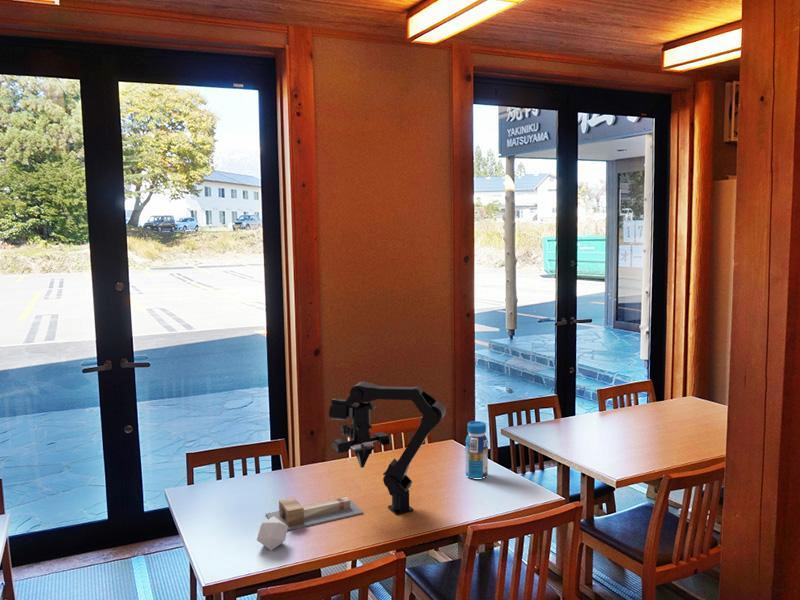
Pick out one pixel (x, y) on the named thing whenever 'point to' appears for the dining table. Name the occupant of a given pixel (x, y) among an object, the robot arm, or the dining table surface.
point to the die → (272, 533)
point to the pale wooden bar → (326, 507)
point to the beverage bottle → (476, 450)
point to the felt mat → (321, 516)
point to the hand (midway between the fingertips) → (361, 467)
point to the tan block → (291, 511)
